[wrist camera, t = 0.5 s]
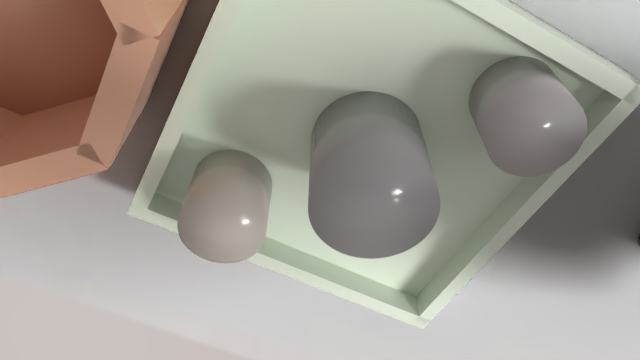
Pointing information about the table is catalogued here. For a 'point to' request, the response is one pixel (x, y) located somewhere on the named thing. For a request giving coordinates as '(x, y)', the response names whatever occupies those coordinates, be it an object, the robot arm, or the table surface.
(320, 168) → the grey rounded cylinder
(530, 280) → the table surface
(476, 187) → the tray
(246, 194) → the pebble
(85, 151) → the bowl
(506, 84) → the pebble
